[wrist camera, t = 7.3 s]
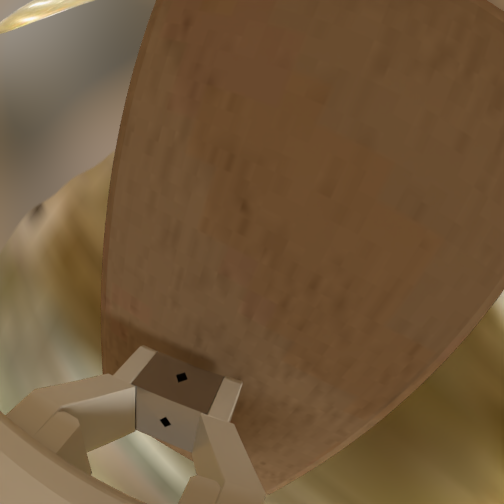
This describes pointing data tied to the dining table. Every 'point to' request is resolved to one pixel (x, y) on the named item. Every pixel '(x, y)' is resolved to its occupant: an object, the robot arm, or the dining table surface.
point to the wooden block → (307, 207)
